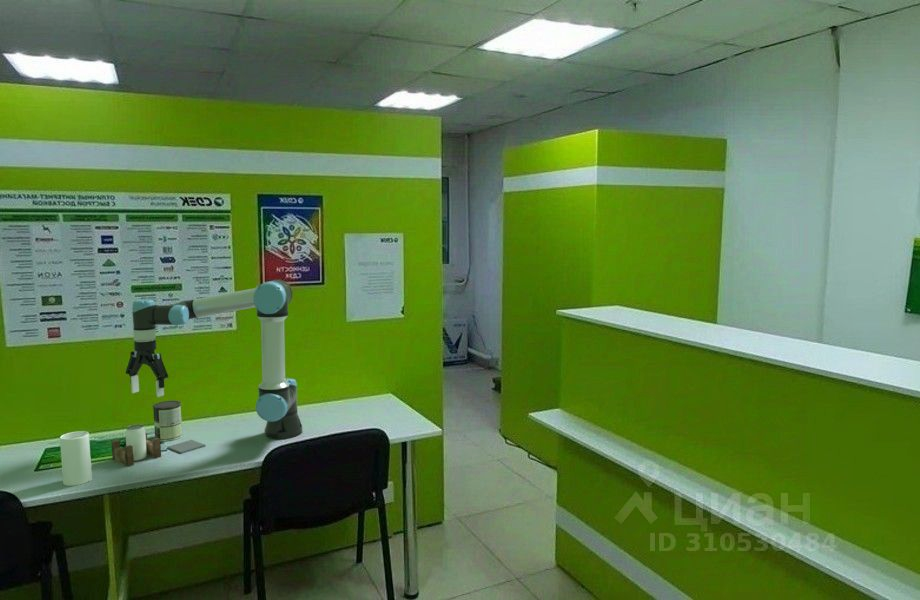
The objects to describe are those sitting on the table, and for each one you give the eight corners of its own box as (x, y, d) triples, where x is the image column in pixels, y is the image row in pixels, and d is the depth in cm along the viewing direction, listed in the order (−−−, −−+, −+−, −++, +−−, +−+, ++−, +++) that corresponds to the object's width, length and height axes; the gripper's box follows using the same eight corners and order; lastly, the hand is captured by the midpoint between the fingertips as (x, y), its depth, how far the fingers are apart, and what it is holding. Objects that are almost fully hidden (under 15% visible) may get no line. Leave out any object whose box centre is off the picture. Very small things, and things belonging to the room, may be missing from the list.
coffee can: (149, 440, 243) (146, 406, 242) (166, 432, 253) (164, 399, 252) (171, 442, 241) (169, 408, 239) (188, 434, 251) (186, 401, 250)
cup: (71, 476, 207) (68, 431, 206) (96, 475, 208) (93, 430, 206) (58, 486, 199) (54, 439, 198) (84, 485, 200) (80, 438, 198)
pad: (205, 446, 237) (205, 444, 236) (180, 453, 229) (180, 452, 228) (191, 441, 242) (191, 439, 242) (167, 448, 234) (167, 446, 234)
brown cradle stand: (161, 456, 226) (160, 438, 225) (128, 466, 216) (126, 447, 215) (145, 450, 233) (144, 432, 232) (112, 459, 223) (111, 441, 222)
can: (150, 456, 226) (148, 425, 225) (136, 462, 220) (134, 430, 219) (137, 454, 228) (135, 423, 227) (123, 460, 222) (120, 428, 221)
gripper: (176, 341, 229) (179, 395, 232) (131, 336, 239) (133, 388, 242) (160, 344, 223) (162, 400, 225) (113, 339, 233) (116, 392, 235)
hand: (147, 394), depth 233 cm, fingers open, 13 cm apart
